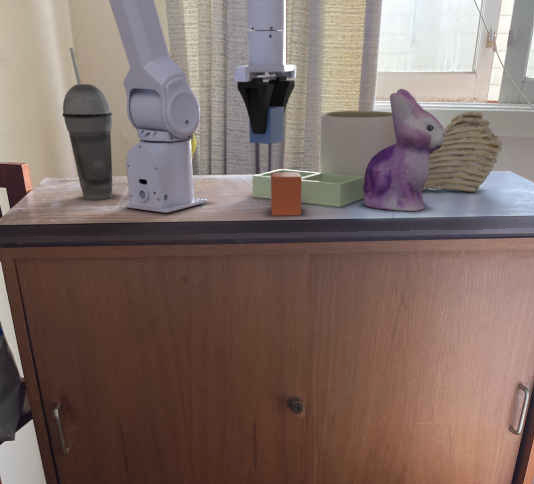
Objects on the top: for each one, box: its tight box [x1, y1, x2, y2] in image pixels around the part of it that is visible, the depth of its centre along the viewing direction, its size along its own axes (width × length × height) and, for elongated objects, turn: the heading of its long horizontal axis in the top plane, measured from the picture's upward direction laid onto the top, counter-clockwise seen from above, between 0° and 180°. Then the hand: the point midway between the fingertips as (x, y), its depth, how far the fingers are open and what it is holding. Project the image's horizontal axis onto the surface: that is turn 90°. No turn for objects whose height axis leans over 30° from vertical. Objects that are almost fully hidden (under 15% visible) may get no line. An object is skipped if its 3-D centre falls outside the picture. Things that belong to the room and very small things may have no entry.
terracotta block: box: [270, 172, 302, 217], centre depth 96 cm, size 4×4×5 cm
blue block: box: [248, 106, 285, 145], centre depth 109 cm, size 4×4×5 cm
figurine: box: [362, 88, 446, 212], centre depth 97 cm, size 9×10×15 cm
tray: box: [252, 168, 365, 208], centre depth 106 cm, size 15×8×3 cm, turn 57°
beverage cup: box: [62, 47, 114, 201], centre depth 102 cm, size 7×7×20 cm
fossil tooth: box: [422, 111, 503, 193], centre depth 109 cm, size 12×6×15 cm
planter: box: [319, 110, 396, 177], centre depth 111 cm, size 12×12×11 cm
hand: (266, 132), depth 109 cm, fingers closed on blue block, 4 cm apart
